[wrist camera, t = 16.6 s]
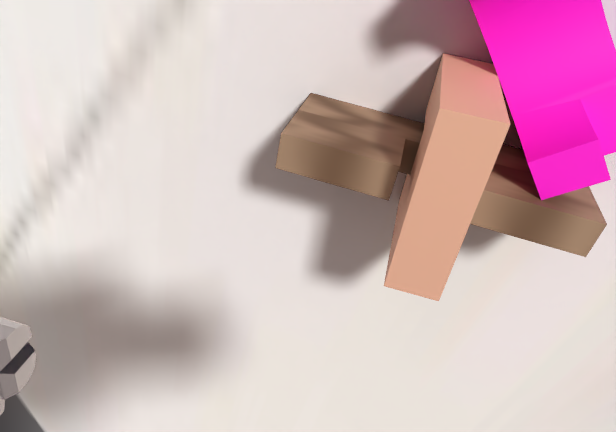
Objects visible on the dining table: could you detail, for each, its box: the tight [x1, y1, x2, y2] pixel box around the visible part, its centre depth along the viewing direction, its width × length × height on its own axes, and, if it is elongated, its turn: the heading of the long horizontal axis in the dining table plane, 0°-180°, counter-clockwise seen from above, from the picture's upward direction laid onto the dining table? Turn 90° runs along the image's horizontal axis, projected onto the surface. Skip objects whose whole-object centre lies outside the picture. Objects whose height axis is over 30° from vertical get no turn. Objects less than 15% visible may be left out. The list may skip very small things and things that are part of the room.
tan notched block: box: [384, 53, 510, 301], centre depth 32 cm, size 4×12×11 cm, turn 171°
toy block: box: [469, 0, 616, 200], centre depth 29 cm, size 15×6×8 cm, turn 29°
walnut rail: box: [275, 93, 607, 257], centre depth 34 cm, size 20×2×8 cm, turn 79°
